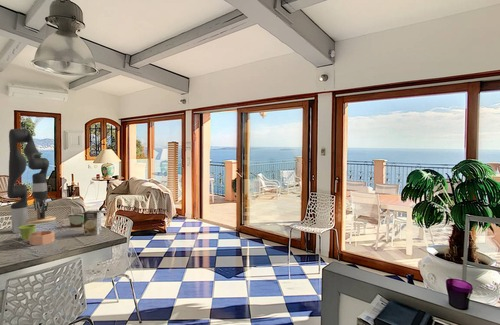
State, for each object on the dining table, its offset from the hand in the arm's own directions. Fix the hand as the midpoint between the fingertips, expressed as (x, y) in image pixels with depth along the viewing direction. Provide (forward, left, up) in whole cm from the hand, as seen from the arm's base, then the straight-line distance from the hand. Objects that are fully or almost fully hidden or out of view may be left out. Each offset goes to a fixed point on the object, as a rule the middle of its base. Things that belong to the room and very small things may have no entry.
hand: (41, 217), depth 184 cm
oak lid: (0, 0, -2) cm, 2 cm away
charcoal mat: (-4, +16, -16) cm, 23 cm away
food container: (-18, +33, -16) cm, 41 cm away
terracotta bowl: (0, 0, -16) cm, 16 cm away
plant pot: (-16, -1, -16) cm, 23 cm away
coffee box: (+11, +26, -16) cm, 33 cm away
